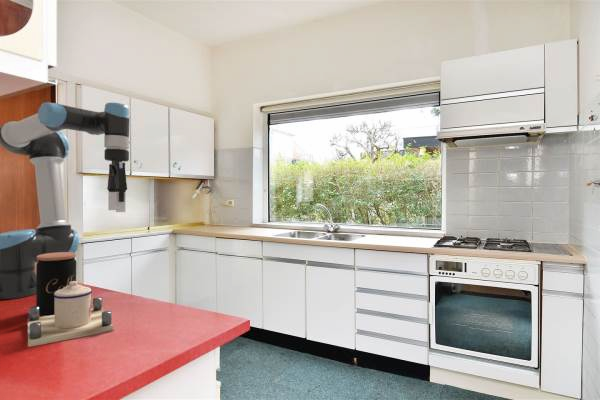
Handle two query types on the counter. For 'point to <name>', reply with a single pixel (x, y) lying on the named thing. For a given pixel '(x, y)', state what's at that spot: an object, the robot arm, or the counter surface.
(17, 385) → the counter surface
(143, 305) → the counter surface
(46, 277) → the coffee jar
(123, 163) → the robot arm
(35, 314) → the set of grey pegs
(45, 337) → the birch board
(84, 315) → the teacup with lid
